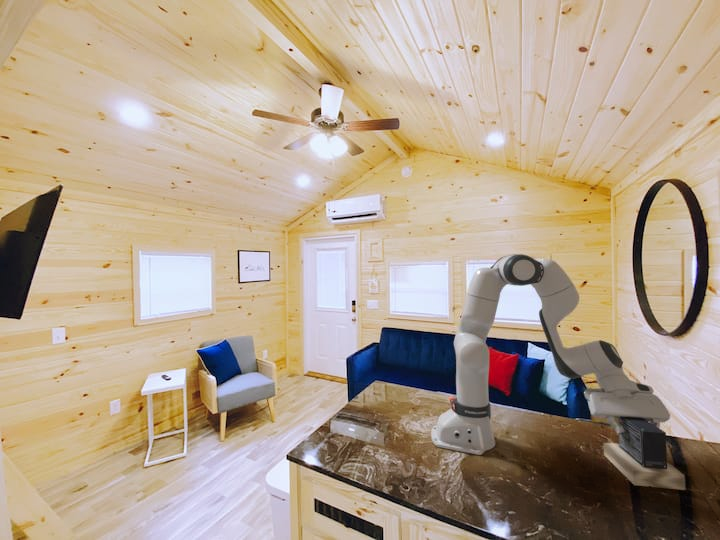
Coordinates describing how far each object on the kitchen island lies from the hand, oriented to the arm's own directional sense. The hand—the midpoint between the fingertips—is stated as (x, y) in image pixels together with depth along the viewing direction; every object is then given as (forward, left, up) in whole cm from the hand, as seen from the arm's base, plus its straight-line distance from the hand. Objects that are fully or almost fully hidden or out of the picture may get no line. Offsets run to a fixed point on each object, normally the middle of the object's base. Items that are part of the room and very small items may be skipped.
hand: (639, 434), depth 88 cm
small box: (+1, 0, -7) cm, 7 cm away
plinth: (0, 0, -11) cm, 11 cm away
